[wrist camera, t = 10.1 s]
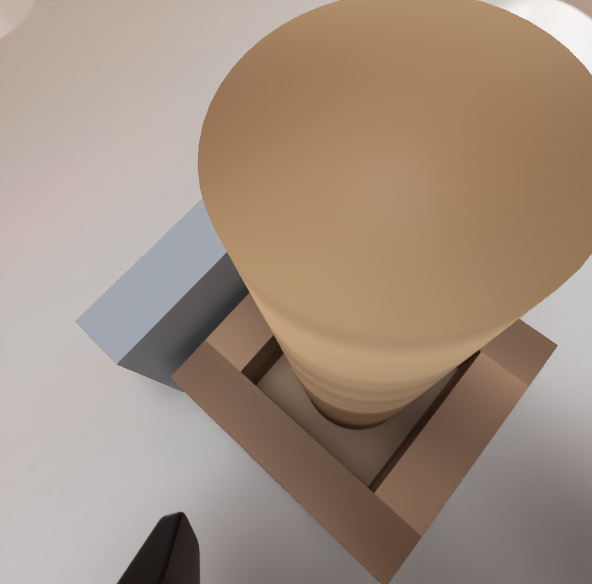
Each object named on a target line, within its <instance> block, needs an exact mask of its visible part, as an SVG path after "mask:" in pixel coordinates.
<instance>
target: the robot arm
mask: <svg viewBox="0 0 592 584" xmlns="http://www.w3.org/2000/svg"><path fill="white" fill-rule="evenodd" d="M117 584H200V552H199V544H198V540H197V538H196V535H195V533H194V531H193V529H192V527H191V525H190V523H189V521H188V519H187V517H186V515H185V514H184V513H183V512H177V513H174V514H170V515H166V516H164V517H162V518H161V519H160V520H159V522H158V523H157V525H156V526H155V528H154V529H153V531H152V532H151V534H150V535H149V536H148V538H147V539H146V541H145V542H144V544H143V545H142V547H141V548H140V550H139V551H138V553H137V554H136V556H135V557H134V559H133V560H132V562H131V563H130V565H129V566H128V568H127V569H126V571H125V572H124V574H123V575H122V577H121V578H120V580H119V581H118V583H117Z"/></svg>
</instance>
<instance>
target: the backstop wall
mask: <svg viewBox="0 0 592 584" xmlns="http://www.w3.org/2000/svg"><path fill="white" fill-rule="evenodd" d="M249 293H250V292H249V290H248V288H247V286H246V285H245V283H244V281H243V279H242V278H241V276H240V274H239V272H238V270H237V269H236V267H235V265H234V263H233V262H232V260H231V258H230V256H229V254H228V253H227V251H226V249H225V247H224V245H223V244H222V242H221V240H220V238H219V237H218V235H217V233H216V231H215V229H214V227H213V224H212V222H211V220H210V218H209V215H208V213H207V211H206V208H205V204H204V200H203V198H202V199H201V200H200V201H199V202H198V203H197V204H196V205H195V206H194V207H193V208H192V209H191V210H190V211H189V212H188V213H187V214H186V215H185V216H184V217H183V218H182V219H181V220H180V221H179V222H178V223H177V224H176V225H175V226H173V227H172V228H171V229H170V230H169V231H168V232H167V233H166V234H165V235H164V236H163V237H162V238H161V239H160V240H159V241H158V242H157V243H156V244H155V245H154V246H153V247H152V248H151V249H150V250H149V251H148V252H147V253H146V254H145V255H143V256H142V257H141V258H140V259H139V260H138V261H137V262H136V263H135V264H134V265H133V266H132V267H131V268H130V269H129V270H128V271H127V272H126V273H125V274H124V275H123V276H122V277H121V278H120V279H119V280H118V281H117V282H116V283H115V284H113V285H112V286H111V287H110V288H109V289H108V290H107V291H106V292H105V293H104V294H103V295H102V296H101V297H100V298H99V299H98V300H97V301H96V302H95V303H94V304H93V305H92V306H91V307H90V308H89V309H88V310H87V311H86V312H85V313H83V314H82V315H81V316H80V317H79V318H78V319H77V320H76V321H75V322H76V323H77V324H78V325H79V326H80V327H81V328H82V329H83V330H84V331H85V332H86V333H87V334H88V335H89V336H90V337H91V338H92V340H93V341H94V342H95V343H96V344H97V345H98V346H99V347H100V348H101V349H102V350H103V351H104V352H105V353H106V354H107V355H108V356H109V357H110V358H111V359H112V360H113V361H114V362H115V363H116V364H117V365H119V366H122V367H124V368H127V369H129V370H132V371H134V372H136V373H139V374H141V375H144V376H146V377H149V378H151V379H153V380H156V381H158V382H161V383H163V384H166V385H168V386H171V387H173V388H175V389H178V390H180V391H183V392H185V391H184V390H183V389H181V388H180V387H179V386H178V385H177V384H176V383H175V382H174V381H173V380H172V379H171V378H170V377H171V376H172V375H173V374H174V373H175V372H176V371H177V370H178V369H179V368H180V367H181V365H182V364H183V363H184V362H185V361H186V360H187V359H188V358H189V357H190V356H191V355H192V354H193V353H194V352H195V350H196V349H197V348H198V347H199V346H200V345H201V344H202V343H203V342H204V341H205V340H206V339H207V338H208V337H209V335H210V334H211V333H212V332H213V331H214V330H215V329H216V328H217V327H218V326H219V325H220V324H221V323H222V322H223V320H224V319H225V318H226V317H227V316H228V315H229V314H230V313H231V312H232V311H233V310H234V309H235V308H236V307H237V305H238V304H239V303H240V302H241V301H242V300H243V299H244V298H245V297H246V296H247V295H248V294H249Z"/></svg>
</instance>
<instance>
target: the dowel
mask: <svg viewBox="0 0 592 584" xmlns="http://www.w3.org/2000/svg"><path fill="white" fill-rule="evenodd" d="M198 173H199V182H200V189H201V193H202V197H203V200H204V204H205V208H206V211H207V213H208V215H209V218H210V220H211V222H212V224H213V227H214V229H215V231H216V233H217V235H218V237H219V238H220V240H221V242H222V244H223V245H224V247H225V249H226V251H227V253H228V254H229V256H230V258H231V260H232V262H233V263H234V265H235V267H236V269H237V270H238V272H239V274H240V276H241V278H242V279H243V281H244V283H245V285H246V286H247V288H248V290H249V292H250V294H251V295H252V297H253V299H254V301H255V302H256V304H257V306H258V308H259V310H260V311H261V313H262V315H263V317H264V319H265V320H266V322H267V324H268V326H269V327H270V329H271V331H272V333H273V335H274V336H275V338H276V340H277V342H278V343H279V345H280V347H281V349H282V351H283V352H284V354H285V356H286V358H287V359H288V361H289V363H290V365H291V367H292V368H293V370H294V372H295V374H296V375H297V377H298V379H299V381H300V383H301V384H302V386H303V388H304V390H305V392H306V393H307V395H308V397H309V399H310V400H311V402H312V404H313V405H314V407H315V408H316V410H317V411H318V412H319V413H320V414H321V415H322V416H323V417H324V418H325V419H327V420H328V421H330V422H331V423H333V424H335V425H337V426H340V427H342V428H346V429H352V430H365V429H370V428H373V427H376V426H379V425H381V424H383V423H384V422H386V421H387V420H389V419H390V418H391V417H393V416H394V415H395V414H397V413H398V412H399V411H401V410H402V409H403V408H404V407H406V406H407V405H408V404H410V403H411V402H412V401H413V400H415V399H416V398H417V397H419V396H420V395H421V394H422V393H424V392H425V391H426V390H428V389H429V388H430V387H431V386H433V385H434V384H435V383H437V382H438V381H439V380H440V379H442V378H443V377H444V376H446V375H447V374H448V373H450V372H451V371H452V370H453V369H455V368H456V367H457V366H459V365H460V364H461V363H462V362H464V361H465V360H466V359H468V358H469V357H470V356H471V355H473V354H474V353H475V352H477V351H478V350H479V349H480V348H482V347H483V346H484V345H486V344H487V343H488V342H489V341H491V340H492V339H493V338H495V337H496V336H497V335H499V334H500V333H501V332H502V331H504V330H505V329H506V328H508V327H509V326H510V325H511V324H513V323H514V322H515V321H517V320H518V319H519V318H520V317H522V316H523V315H524V314H526V313H527V312H528V311H529V310H531V309H532V308H533V307H535V306H536V305H537V304H538V303H540V302H541V301H542V300H544V299H545V298H546V297H548V296H549V295H550V294H551V293H553V292H554V291H555V290H557V289H558V288H559V287H560V286H561V285H562V284H563V283H565V282H566V281H567V280H568V279H569V278H570V277H571V276H572V275H573V274H574V273H575V272H577V271H578V270H579V269H580V268H581V266H582V265H583V264H584V263H585V261H586V260H587V259H588V258H589V256H590V255H591V254H592V75H591V74H590V73H589V71H588V70H587V69H586V67H585V66H584V65H583V64H582V63H581V62H580V61H579V60H578V59H577V58H576V57H575V56H574V55H573V54H572V53H571V52H570V51H569V49H567V48H566V47H565V46H564V45H562V44H561V43H560V42H559V41H557V40H556V39H555V38H554V37H552V36H551V35H550V34H549V33H547V32H545V31H544V30H542V29H541V28H539V27H537V26H536V25H534V24H533V23H531V22H529V21H528V20H525V19H523V18H521V17H519V16H517V15H515V14H513V13H511V12H509V11H507V10H504V9H501V8H499V7H496V6H493V5H490V4H488V3H485V2H481V1H477V0H340V1H337V2H333V3H330V4H327V5H324V6H321V7H319V8H316V9H314V10H311V11H309V12H307V13H304V14H302V15H300V16H298V17H296V18H294V19H293V20H291V21H289V22H287V23H285V24H283V25H281V26H280V27H279V28H277V29H276V30H274V31H273V32H271V33H270V34H268V35H267V36H265V37H264V38H263V39H262V40H260V41H259V42H258V43H257V44H256V45H255V46H253V47H252V48H251V49H250V50H249V51H248V52H247V53H246V54H245V55H244V56H243V57H242V58H241V59H240V60H239V61H238V62H237V64H236V65H235V66H234V67H233V68H232V69H231V71H230V72H229V73H228V75H227V76H226V78H225V79H224V81H223V82H222V83H221V85H220V86H219V88H218V90H217V92H216V94H215V96H214V98H213V100H212V102H211V103H210V106H209V109H208V112H207V114H206V117H205V120H204V123H203V127H202V132H201V136H200V141H199V152H198Z"/></svg>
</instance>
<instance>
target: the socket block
mask: <svg viewBox="0 0 592 584" xmlns="http://www.w3.org/2000/svg"><path fill="white" fill-rule="evenodd" d="M557 346H558V345H557V344H555V343H554V342H552V341H551V340H549V339H548V338H546V337H545V336H544V335H542V334H541V333H539V332H538V331H536V330H535V329H533V328H532V327H530V326H529V325H527V324H526V323H525V322H523V321H522V320H520V319H518V320H517V321H515V322H514V323H513V324H511V325H510V326H509V327H508V328H506V329H505V330H504V331H502V332H501V333H500V334H499V335H497V336H496V337H495V338H493V339H492V340H491V341H489V342H488V343H487V344H486V345H484V346H483V347H482V348H480V349H479V350H478V351H477V352H475V353H474V354H473V355H471V356H470V357H469V358H468V359H466V360H465V361H464V362H462V363H461V364H460V365H459V366H457V367H456V368H455V369H453V370H452V371H451V372H450V373H448V374H447V375H446V376H444V377H443V378H442V379H440V380H439V381H438V382H437V383H435V384H434V385H433V386H431V387H430V388H429V389H428V390H426V391H425V392H424V393H422V394H421V395H420V396H419V397H417V398H416V399H415V400H413V401H412V402H411V403H410V404H408V405H407V406H406V407H404V408H403V409H402V410H401V411H399V412H398V413H397V414H395V415H394V416H393V417H391V418H390V419H389V420H387V421H386V422H384V423H383V424H381V425H379V426H376V427H373V428H370V429H365V430H352V429H346V428H342V427H340V426H337V425H335V424H333V423H331V422H330V421H328V420H327V419H325V418H324V417H323V416H322V415H321V414H320V413H319V412H318V411H317V410H316V408H315V407H314V405H313V404H312V402H311V400H310V399H309V397H308V395H307V393H306V392H305V390H304V388H303V386H302V384H301V383H300V381H299V379H298V377H297V375H296V374H295V372H294V370H293V368H292V367H291V365H290V363H289V361H288V359H287V358H286V356H285V354H284V352H283V351H282V349H281V347H280V345H279V343H278V342H277V340H276V338H275V336H274V335H273V333H272V331H271V329H270V327H269V326H268V324H267V322H266V320H265V319H264V317H263V315H262V313H261V311H260V310H259V308H258V306H257V304H256V302H255V301H254V299H253V297H252V295H251V294H250V293H249V294H248V295H247V296H246V297H245V298H244V299H243V300H242V301H241V302H240V303H239V304H238V305H237V307H236V308H235V309H234V310H233V311H232V312H231V313H230V314H229V315H228V316H227V317H226V318H225V319H224V320H223V322H222V323H221V324H220V325H219V326H218V327H217V328H216V329H215V330H214V331H213V332H212V333H211V334H210V335H209V337H208V338H207V339H206V340H205V341H204V342H203V343H202V344H201V345H200V346H199V347H198V348H197V349H196V350H195V352H194V353H193V354H192V355H191V356H190V357H189V358H188V359H187V360H186V361H185V362H184V363H183V364H182V365H181V367H180V368H179V369H178V370H177V371H176V372H175V373H174V374H173V375H172V376H171V377H170V378H171V379H172V380H173V381H174V382H175V383H176V384H177V385H178V386H179V387H180V388H181V389H183V390H184V391H185V392H186V393H187V394H188V395H189V396H190V397H191V398H192V399H193V400H194V401H195V402H196V403H197V404H198V405H199V406H200V407H201V408H202V409H203V410H204V411H205V412H206V413H207V414H208V415H209V416H210V417H211V418H212V419H213V420H214V421H215V422H216V423H217V424H218V425H219V426H220V427H221V428H222V429H223V430H224V431H225V432H226V433H228V434H229V435H230V436H231V437H232V438H233V439H234V440H235V441H236V442H237V443H238V444H239V445H240V446H241V447H242V448H243V449H244V450H245V451H246V452H247V453H248V454H249V455H250V456H251V457H252V458H253V459H254V460H255V461H256V462H257V463H258V464H259V465H260V466H261V467H262V468H263V469H264V470H265V471H266V472H267V473H268V474H269V475H270V476H271V477H273V478H274V479H275V480H276V481H277V482H278V483H279V484H280V485H281V486H282V487H283V488H284V489H285V490H286V491H287V492H288V493H289V494H290V495H291V496H292V497H293V498H294V499H295V500H296V501H297V502H298V503H299V504H300V505H301V506H302V507H303V508H304V509H305V510H306V511H307V512H308V513H309V514H310V515H311V516H312V517H313V518H314V519H315V520H316V521H318V522H319V523H320V524H321V525H322V526H323V527H324V528H325V529H326V530H327V531H328V532H329V533H330V534H331V535H332V536H333V537H334V538H335V539H336V540H337V541H338V542H339V543H340V544H341V545H342V546H343V547H344V548H345V549H346V550H347V551H348V552H349V553H350V554H351V555H352V556H353V557H354V558H355V559H356V560H357V561H358V562H359V563H360V564H361V565H363V566H364V567H365V568H366V569H367V570H368V571H369V572H370V573H371V574H372V575H373V576H374V577H375V578H376V579H377V580H378V581H379V582H380V583H381V584H388V583H389V582H390V580H391V579H392V578H393V576H394V575H395V573H396V572H397V571H398V569H399V568H400V566H401V565H402V564H403V562H404V561H405V559H406V558H407V557H408V555H409V554H410V552H411V551H412V549H413V548H414V547H415V545H416V544H417V542H418V541H419V540H420V538H421V537H422V535H423V534H424V533H425V531H426V530H427V528H428V527H429V526H430V524H431V523H432V521H433V520H434V519H435V517H436V516H437V514H438V513H439V512H440V510H441V509H442V507H443V506H444V505H445V503H446V502H447V500H448V499H449V498H450V496H451V495H452V493H453V492H454V491H455V489H456V488H457V486H458V485H459V484H460V482H461V481H462V479H463V478H464V477H465V475H466V474H467V472H468V471H469V470H470V468H471V467H472V465H473V464H474V462H475V461H476V460H477V458H478V457H479V455H480V454H481V453H482V451H483V450H484V448H485V447H486V446H487V444H488V443H489V441H490V440H491V439H492V437H493V436H494V434H495V433H496V432H497V430H498V429H499V427H500V426H501V425H502V423H503V422H504V420H505V419H506V418H507V416H508V415H509V413H510V412H511V411H512V409H513V408H514V406H515V405H516V404H517V402H518V401H519V399H520V398H521V397H522V395H523V394H524V392H525V391H526V390H527V388H528V387H529V385H530V384H531V383H532V381H533V380H534V378H535V377H536V375H537V374H538V373H539V371H540V370H541V368H542V367H543V366H544V364H545V363H546V361H547V360H548V359H549V357H550V356H551V354H552V353H553V352H554V350H555V349H556V347H557Z"/></svg>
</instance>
